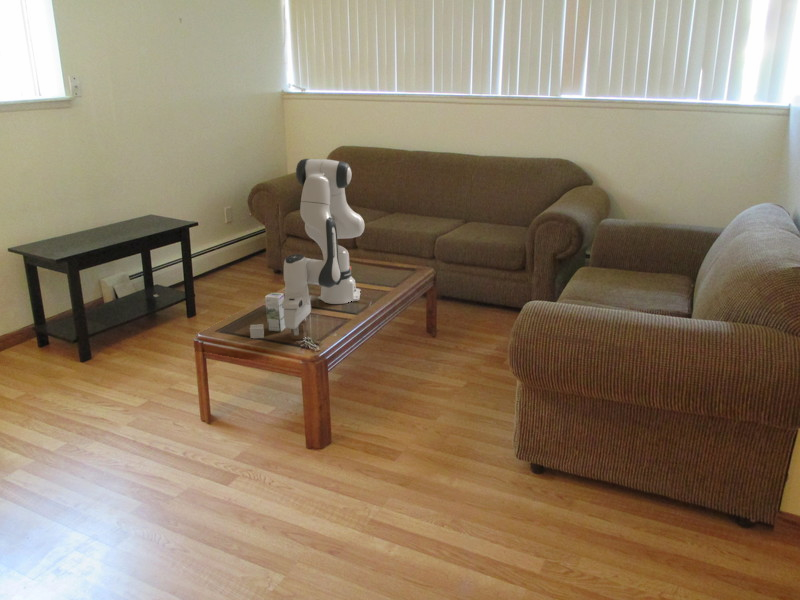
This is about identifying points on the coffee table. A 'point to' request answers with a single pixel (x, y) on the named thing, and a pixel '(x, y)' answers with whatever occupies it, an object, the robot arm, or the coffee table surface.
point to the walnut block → (301, 331)
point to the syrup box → (275, 312)
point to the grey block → (257, 331)
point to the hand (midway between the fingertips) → (299, 331)
